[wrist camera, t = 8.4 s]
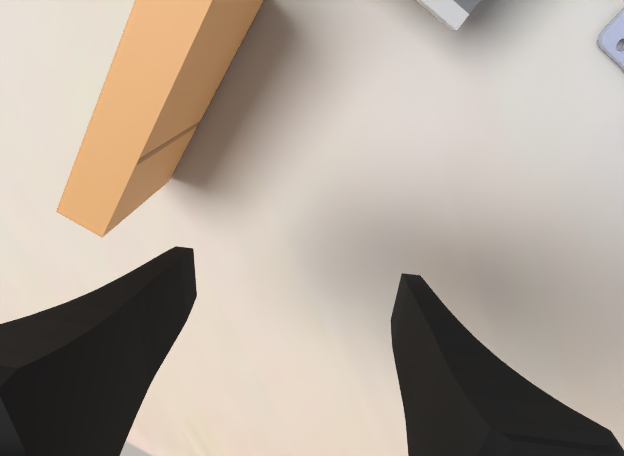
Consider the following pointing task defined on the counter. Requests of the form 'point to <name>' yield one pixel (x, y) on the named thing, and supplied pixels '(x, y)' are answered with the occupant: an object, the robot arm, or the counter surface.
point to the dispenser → (450, 11)
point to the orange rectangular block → (151, 104)
